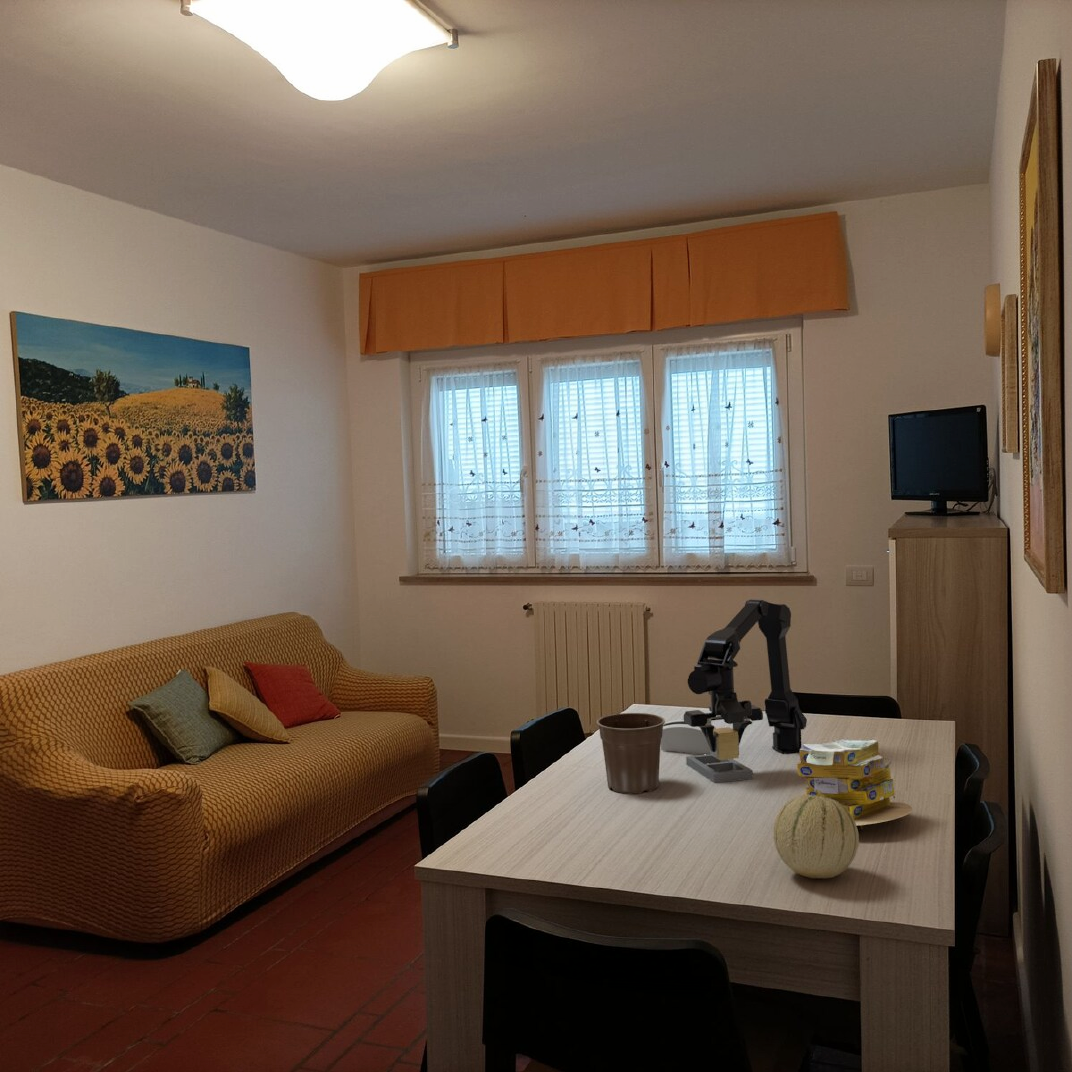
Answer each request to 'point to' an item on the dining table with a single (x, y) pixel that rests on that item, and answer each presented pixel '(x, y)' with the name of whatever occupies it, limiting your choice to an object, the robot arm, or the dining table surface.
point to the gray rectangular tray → (719, 768)
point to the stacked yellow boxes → (852, 779)
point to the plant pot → (631, 750)
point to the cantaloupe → (816, 836)
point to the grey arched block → (683, 738)
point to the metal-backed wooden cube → (725, 743)
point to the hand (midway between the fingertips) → (724, 750)
